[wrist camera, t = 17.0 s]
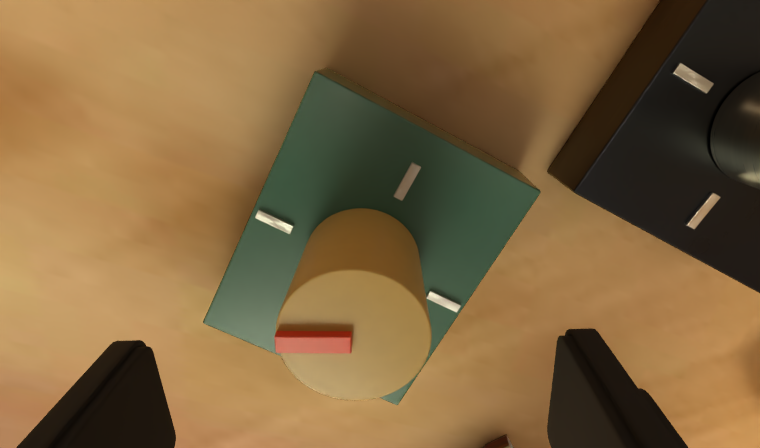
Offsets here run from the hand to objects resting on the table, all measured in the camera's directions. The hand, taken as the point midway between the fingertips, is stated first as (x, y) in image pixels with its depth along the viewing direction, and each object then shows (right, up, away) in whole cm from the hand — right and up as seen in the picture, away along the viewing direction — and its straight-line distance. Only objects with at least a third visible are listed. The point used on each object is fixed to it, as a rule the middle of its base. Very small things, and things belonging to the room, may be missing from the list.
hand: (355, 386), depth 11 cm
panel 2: (+14, +8, +8) cm, 18 cm away
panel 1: (0, +3, +10) cm, 10 cm away
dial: (0, +2, +7) cm, 7 cm away
